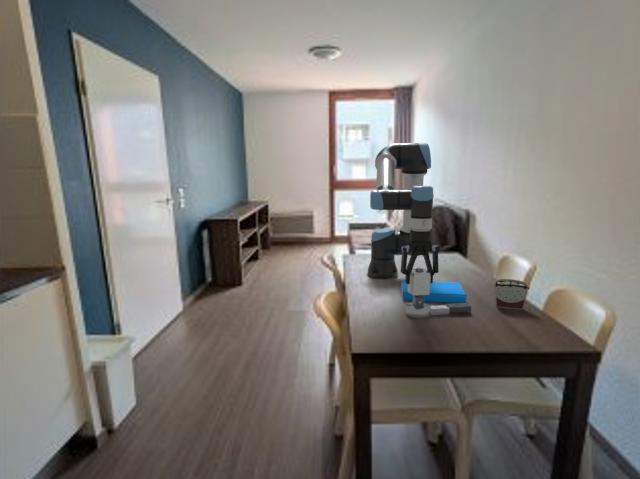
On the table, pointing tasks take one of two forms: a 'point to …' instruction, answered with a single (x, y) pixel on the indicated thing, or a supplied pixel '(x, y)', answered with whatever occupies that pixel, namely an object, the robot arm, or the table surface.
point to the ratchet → (434, 308)
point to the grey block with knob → (420, 281)
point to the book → (439, 292)
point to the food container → (510, 293)
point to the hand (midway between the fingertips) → (418, 291)
